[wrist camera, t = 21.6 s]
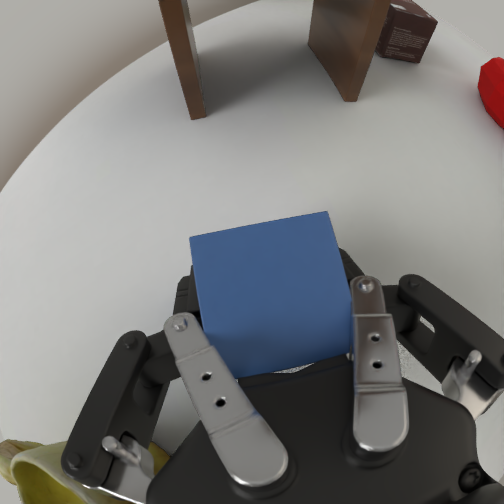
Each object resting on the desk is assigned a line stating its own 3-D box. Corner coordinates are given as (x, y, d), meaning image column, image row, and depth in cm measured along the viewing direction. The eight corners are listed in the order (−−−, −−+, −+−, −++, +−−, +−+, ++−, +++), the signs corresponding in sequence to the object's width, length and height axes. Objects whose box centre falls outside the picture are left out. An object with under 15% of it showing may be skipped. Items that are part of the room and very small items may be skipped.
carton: (320, 342, 15) (364, 349, 8) (232, 361, 15) (212, 384, 8) (300, 258, 16) (328, 208, 10) (216, 275, 16) (187, 235, 10)
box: (397, 39, 24) (412, 0, 17) (419, 65, 23) (440, 22, 15) (358, 32, 24) (370, -12, 17) (379, 57, 22) (396, 8, 15)
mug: (240, 459, 11) (131, 591, 2) (201, 527, 12) (132, 604, 3) (81, 356, 15) (-43, 385, 6) (82, 445, 16) (-1, 483, 6)
